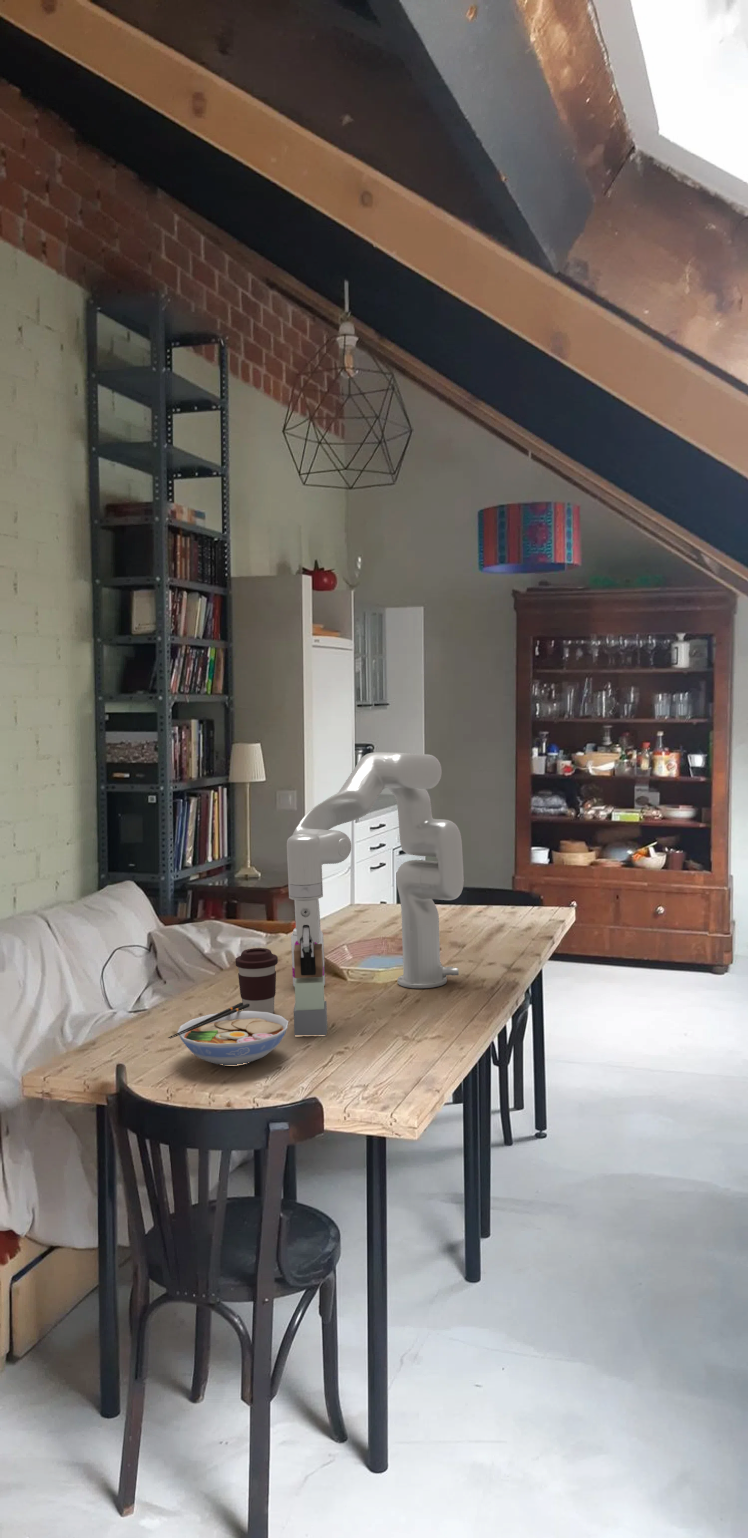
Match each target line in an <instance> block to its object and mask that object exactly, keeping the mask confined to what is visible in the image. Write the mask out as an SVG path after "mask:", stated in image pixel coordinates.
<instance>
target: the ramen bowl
mask: <svg viewBox="0 0 748 1538" xmlns="http://www.w3.org/2000/svg"><path fill="white" fill-rule="evenodd" d="M247 1007H250V1005H249V1004H248V1003H247V1004H245V1005H243V1003H242V1002H239V1003H237V1004H234V1005H233V1006H230V1007H229V1008H226V1009H224V1010H222V1011H220V1012H217V1013H211V1014H205V1015H202V1016H199V1017H196V1018H193V1019H189V1020H188V1021H186V1022H185V1023H183V1024H181V1025H180V1026H179V1027H178V1030H177V1033H174V1034H172V1035H171V1036H168V1037H167V1038H168V1039H173V1038H176V1037H179V1038H180V1040H181V1041H182V1042H183V1044H184V1045H185V1047H186V1048H187V1049H188V1051H189V1050H190V1052H191V1053H192V1054H193V1055H194V1056H196V1058H198V1059H201V1060H202V1061H205V1062H208V1063H212V1064H215V1065H218V1064H223V1065H237V1064H243V1063H248V1062H251V1061H252V1062H254V1061H256V1060H259V1059H262V1058H263V1057H266V1056H267V1055H268V1054H269V1053H271V1052H273V1050H275V1049H276V1048H277V1047H278V1045H279V1044H280V1042H281V1041H282V1039H283V1038H284V1036H285V1034H286V1032H287V1029H288V1027H289V1020H287V1019H286V1018H285V1017H284V1016H282V1015H279V1014H275V1013H268V1012H258V1011H243V1009H245V1008H247ZM252 1062H251V1063H252Z"/></svg>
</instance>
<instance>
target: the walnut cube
mask: <svg viewBox="0 0 748 1538" xmlns="http://www.w3.org/2000/svg"><path fill="white" fill-rule="evenodd" d="M309 947H311V946H309ZM314 956H315V968H316V974H315V975H301V962H300V957H301V945H295V948H294V969H295V978H311V977H322V975H323V956H322V944H314Z"/></svg>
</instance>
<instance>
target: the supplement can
mask: <svg viewBox="0 0 748 1538" xmlns="http://www.w3.org/2000/svg"><path fill="white" fill-rule="evenodd" d="M320 931H321V938H320V942H319V943H318V944H322V956H323V977H324V986H326V985H325V984H326V975H325V974H326V972H325V971H326V970H325V969H326V968H325V946H324V945H325V944H324V941H325V940H324V933H323V931H322V929H321V927H320ZM290 940H291V941H290V942H291V945H290V947H291V966H292V967H291V968H292V971H291V972H292V986H293V987H294V988H295V969H294V948H295V945H301V944H299V943H298V941H297V932H296V927H295V928H294V929H293V931H292V933H291V936H290ZM315 944H317V942H315Z"/></svg>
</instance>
